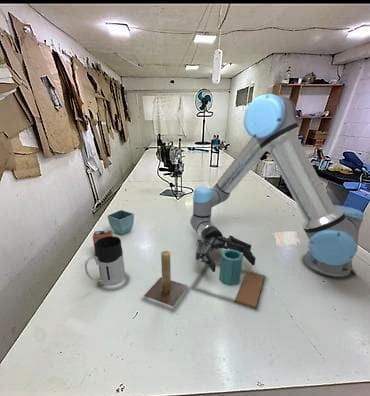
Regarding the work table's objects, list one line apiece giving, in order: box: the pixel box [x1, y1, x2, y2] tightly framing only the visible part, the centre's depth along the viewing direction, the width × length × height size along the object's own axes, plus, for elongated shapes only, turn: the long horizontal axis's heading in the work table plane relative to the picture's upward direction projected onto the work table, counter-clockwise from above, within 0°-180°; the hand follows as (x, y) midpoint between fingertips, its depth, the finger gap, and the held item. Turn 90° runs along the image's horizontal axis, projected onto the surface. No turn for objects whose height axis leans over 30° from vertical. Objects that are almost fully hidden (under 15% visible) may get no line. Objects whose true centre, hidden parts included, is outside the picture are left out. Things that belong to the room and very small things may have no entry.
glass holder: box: [84, 235, 126, 286], centre depth 73 cm, size 9×14×15 cm, turn 155°
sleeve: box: [218, 249, 244, 287], centre depth 76 cm, size 6×6×10 cm
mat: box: [214, 261, 265, 310], centre depth 78 cm, size 20×16×1 cm
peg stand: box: [143, 250, 189, 308], centre depth 70 cm, size 10×10×15 cm
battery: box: [92, 229, 114, 257], centre depth 93 cm, size 4×7×10 cm, turn 100°
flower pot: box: [106, 209, 135, 236], centre depth 110 cm, size 9×9×9 cm
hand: (234, 265), depth 73 cm, fingers open, 13 cm apart
